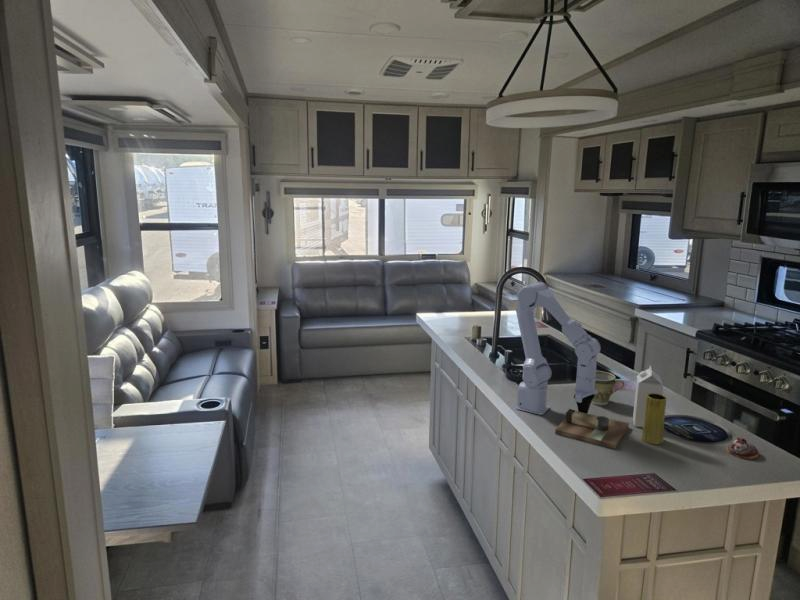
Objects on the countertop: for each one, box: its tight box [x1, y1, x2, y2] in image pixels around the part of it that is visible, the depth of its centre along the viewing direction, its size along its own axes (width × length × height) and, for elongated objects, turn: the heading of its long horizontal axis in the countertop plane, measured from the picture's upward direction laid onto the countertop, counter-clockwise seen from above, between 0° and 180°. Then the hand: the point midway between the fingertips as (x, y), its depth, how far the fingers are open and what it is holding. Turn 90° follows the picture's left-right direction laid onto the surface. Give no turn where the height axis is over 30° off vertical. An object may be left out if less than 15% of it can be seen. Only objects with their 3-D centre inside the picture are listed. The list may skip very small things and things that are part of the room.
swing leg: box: [565, 408, 610, 431], centre depth 174 cm, size 13×4×3 cm, turn 56°
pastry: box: [726, 436, 760, 461], centre depth 159 cm, size 8×8×5 cm
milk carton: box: [632, 365, 664, 428], centre depth 176 cm, size 7×7×19 cm
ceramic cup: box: [591, 370, 625, 406], centre depth 194 cm, size 13×10×10 cm
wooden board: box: [554, 413, 630, 450], centre depth 173 cm, size 18×18×2 cm
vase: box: [641, 393, 667, 445], centre depth 166 cm, size 6×6×14 cm
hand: (582, 415), depth 178 cm, fingers closed
